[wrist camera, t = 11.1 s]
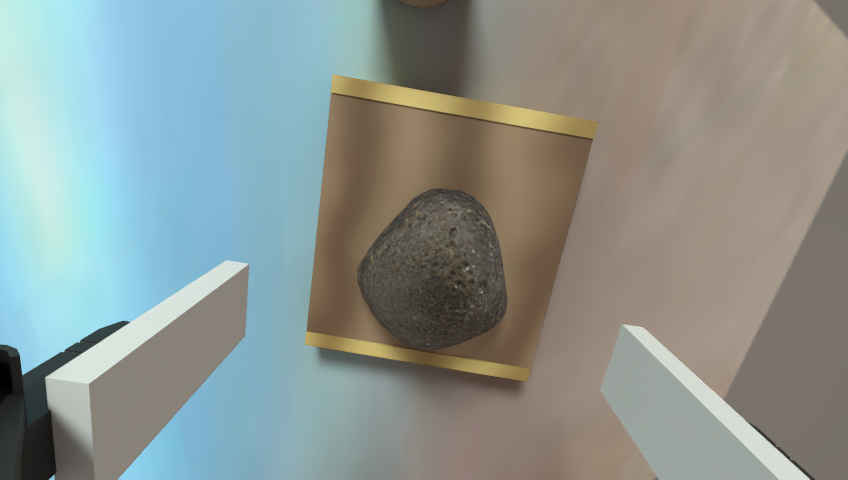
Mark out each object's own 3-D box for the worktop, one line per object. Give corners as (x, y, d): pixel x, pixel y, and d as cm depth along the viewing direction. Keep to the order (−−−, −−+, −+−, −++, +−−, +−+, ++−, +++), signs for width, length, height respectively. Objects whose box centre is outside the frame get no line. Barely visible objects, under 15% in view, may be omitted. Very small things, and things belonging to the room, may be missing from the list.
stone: (436, 316, 31) (553, 343, 24) (344, 351, 26) (461, 399, 18) (426, 191, 30) (545, 179, 23) (328, 198, 25) (445, 185, 17)
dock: (315, 327, 31) (304, 344, 28) (342, 80, 26) (332, 74, 23) (519, 361, 31) (527, 381, 28) (582, 123, 26) (598, 121, 24)
